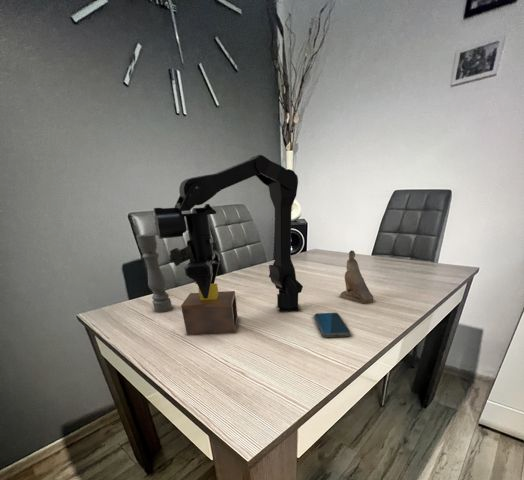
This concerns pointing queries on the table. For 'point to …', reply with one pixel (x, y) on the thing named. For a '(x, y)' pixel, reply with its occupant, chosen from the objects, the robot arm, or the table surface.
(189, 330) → the dark wooden box
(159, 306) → the candle holder
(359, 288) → the brown carved statuette
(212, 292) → the duck
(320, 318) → the smartphone
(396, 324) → the table surface
